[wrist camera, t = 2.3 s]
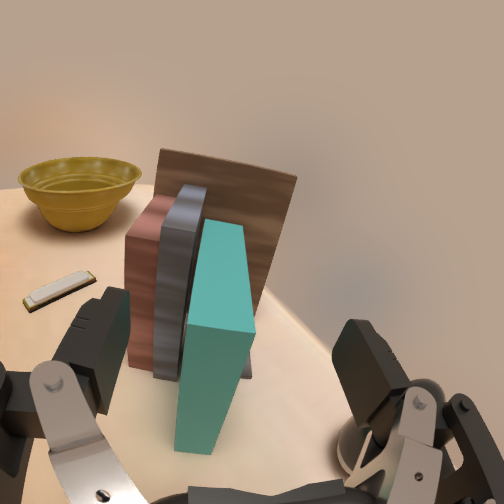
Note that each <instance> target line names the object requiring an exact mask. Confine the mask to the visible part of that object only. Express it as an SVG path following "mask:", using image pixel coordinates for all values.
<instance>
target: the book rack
mask: <svg viewBox="0 0 504 504" xmlns="http://www.w3.org/2000/svg"><path fill="white" fill-rule="evenodd" d="M296 180H297V176H296V175H292V174H289V173H285V172H281V171H276V170H273V169H268V168H264V167H260V166H255V165H250V164H245V163H241V162H236V161H231V160H227V159H221V158H216V157H211V156H206V155H200V154H194V153H188V152H183V151H176V150H170V149H163V148H162V149H160V153H159V160H158V166H157V173H156V181H155V187H154V195H153V199H152V200H151V202H150V203H149V204H148V205H147V207H146V208H145V209H144V211H143V212H142V213H141V215H140V216H139V217H138V219H137V220H136V221H135V223H134V224H133V225H132V227H131V228H130V229H129V231H128V232H127V234H126V235H125V266H124V286H125V290H129V292H130V316H131V330H130V337H129V341H128V345H127V350H128V361H129V367H134V368H138V369H143V370H148V371H153V378H158V379H164V380H169V381H175V382H176V379H177V372H178V364H179V357H180V350H181V343H182V336H183V330H184V323H185V317H186V313H187V314H189V308H190V302H191V295H192V289H193V283H194V277H195V271H196V266H197V260H198V254H199V249H200V244H201V238H202V233H203V228H204V223H205V219H209V220H215V221H220V222H225V223H231V224H236V225H241V226H243V233H244V241H245V250H246V258H247V266H248V274H249V282H250V291H251V299H252V307H253V315H254V316H255V313H256V310H257V307H258V304H259V301H260V298H261V294H262V291H263V288H264V285H265V282H266V279H267V276H268V272H269V269H270V266H271V263H272V260H273V256H274V253H275V250H276V246H277V243H278V240H279V237H280V234H281V230H282V227H283V224H284V220H285V217H286V213H287V210H288V207H289V204H290V201H291V197H292V194H293V190H294V187H295V183H296ZM240 378H245V379H251V378H252V370H251V360H250V351H249V354H248V357H247V360H246V363H245V365H244V368H243V371H242V374H241V376H240Z"/></svg>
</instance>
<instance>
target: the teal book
mask: <svg viewBox="0 0 504 504" xmlns="http://www.w3.org/2000/svg"><path fill="white" fill-rule="evenodd" d="M255 334H256V331H255V323H254V315H253V307H252V299H251V291H250V282H249V274H248V266H247V258H246V250H245V241H244V233H243V226H241V225H236V224H231V223H225V222H220V221H215V220H209V219H205V223H204V228H203V233H202V238H201V244H200V249H199V254H198V260H197V266H196V271H195V277H194V283H193V289H192V295H191V302H190V308H189V314H188V321H187V328H186V336H185V344H184V352H183V360H182V369H181V378H180V388H179V398H178V409H177V420H176V433H175V447H174V451H179V452H187V453H195V454H205V455H211V453H212V451H213V448H214V446H215V443H216V440H217V438H218V435H219V433H220V430H221V427H222V425H223V422H224V420H225V417H226V414H227V412H228V409H229V406H230V404H231V401H232V398H233V396H234V393H235V390H236V387H237V385H238V382H239V379H240V376H241V374H242V371H243V368H244V365H245V363H246V360H247V357H248V354H249V351H250V348H251V346H252V343H253V340H254V337H255Z"/></svg>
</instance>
